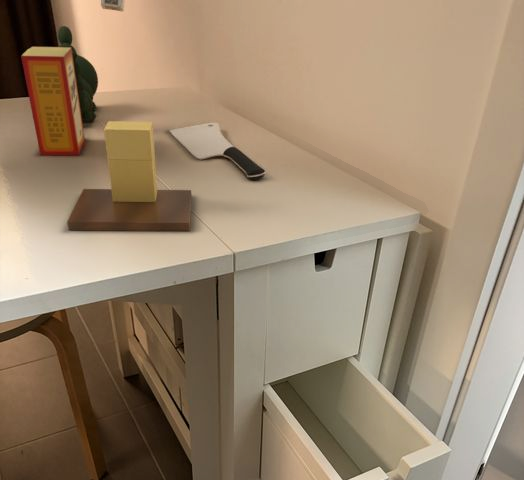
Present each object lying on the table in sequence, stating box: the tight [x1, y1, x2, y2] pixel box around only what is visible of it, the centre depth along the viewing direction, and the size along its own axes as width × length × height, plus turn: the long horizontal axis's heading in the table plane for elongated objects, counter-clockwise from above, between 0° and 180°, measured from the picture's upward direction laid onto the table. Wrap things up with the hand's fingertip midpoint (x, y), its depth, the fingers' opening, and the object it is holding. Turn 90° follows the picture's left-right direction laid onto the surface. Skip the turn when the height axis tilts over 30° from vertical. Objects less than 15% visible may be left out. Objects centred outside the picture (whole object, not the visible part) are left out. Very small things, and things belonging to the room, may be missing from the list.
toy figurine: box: [57, 25, 99, 123], centre depth 114 cm, size 9×19×25 cm
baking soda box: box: [20, 46, 86, 156], centre depth 97 cm, size 10×6×16 cm
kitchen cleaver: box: [169, 122, 266, 181], centre depth 102 cm, size 31×2×10 cm
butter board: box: [66, 188, 192, 232], centre depth 79 cm, size 16×12×1 cm
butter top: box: [103, 120, 155, 160], centre depth 76 cm, size 6×4×4 cm, turn 95°
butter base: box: [107, 151, 158, 202], centre depth 79 cm, size 6×4×6 cm, turn 94°
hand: (112, 8), depth 78 cm, fingers closed
